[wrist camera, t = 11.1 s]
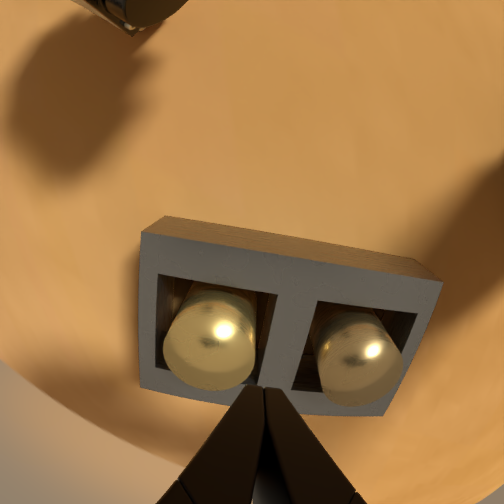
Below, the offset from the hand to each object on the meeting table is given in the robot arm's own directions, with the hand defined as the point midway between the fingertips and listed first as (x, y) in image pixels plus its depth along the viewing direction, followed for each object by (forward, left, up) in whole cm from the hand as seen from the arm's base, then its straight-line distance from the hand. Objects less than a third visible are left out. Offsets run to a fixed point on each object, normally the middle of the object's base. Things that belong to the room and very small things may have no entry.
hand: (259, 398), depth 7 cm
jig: (-2, +4, -12) cm, 13 cm away
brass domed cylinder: (+2, +4, -12) cm, 13 cm away
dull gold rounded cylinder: (-6, +4, -12) cm, 14 cm away
